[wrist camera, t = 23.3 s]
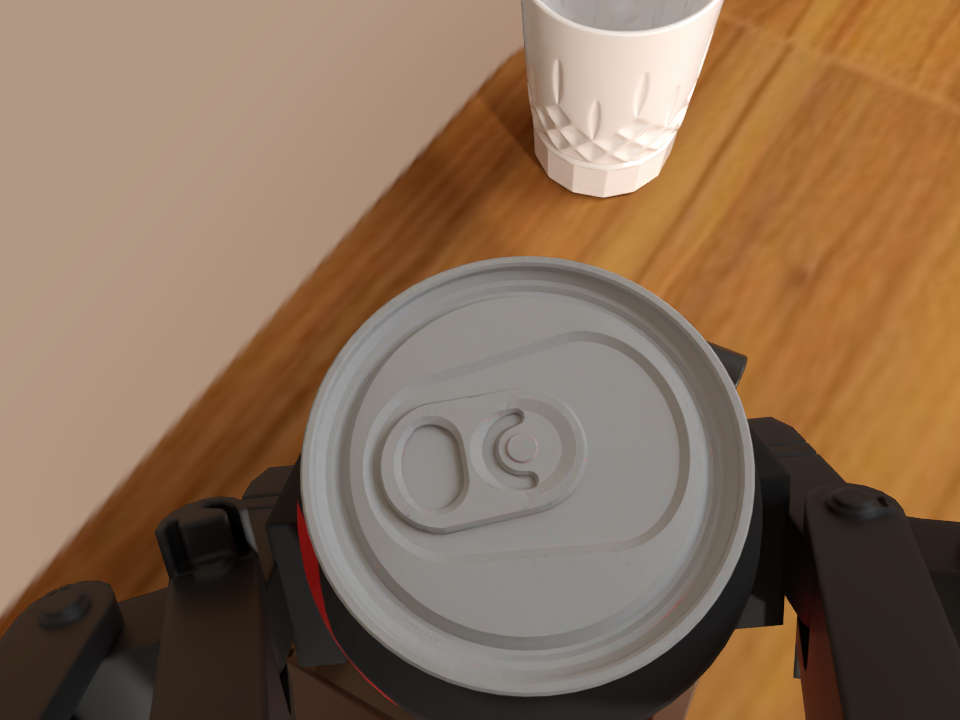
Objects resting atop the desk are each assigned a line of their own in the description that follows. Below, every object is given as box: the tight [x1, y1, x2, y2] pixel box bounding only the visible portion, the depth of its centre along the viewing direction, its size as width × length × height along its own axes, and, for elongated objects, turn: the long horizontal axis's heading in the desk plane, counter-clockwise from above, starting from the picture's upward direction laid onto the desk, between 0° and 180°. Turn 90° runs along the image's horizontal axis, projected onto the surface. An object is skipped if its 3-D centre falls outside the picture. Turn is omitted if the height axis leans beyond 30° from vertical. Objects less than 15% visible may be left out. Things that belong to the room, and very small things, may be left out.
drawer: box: [290, 341, 747, 720], centre depth 23 cm, size 19×12×7 cm, turn 154°
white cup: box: [521, 0, 724, 198], centre depth 31 cm, size 8×8×10 cm
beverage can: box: [297, 256, 762, 720], centre depth 13 cm, size 6×6×12 cm
